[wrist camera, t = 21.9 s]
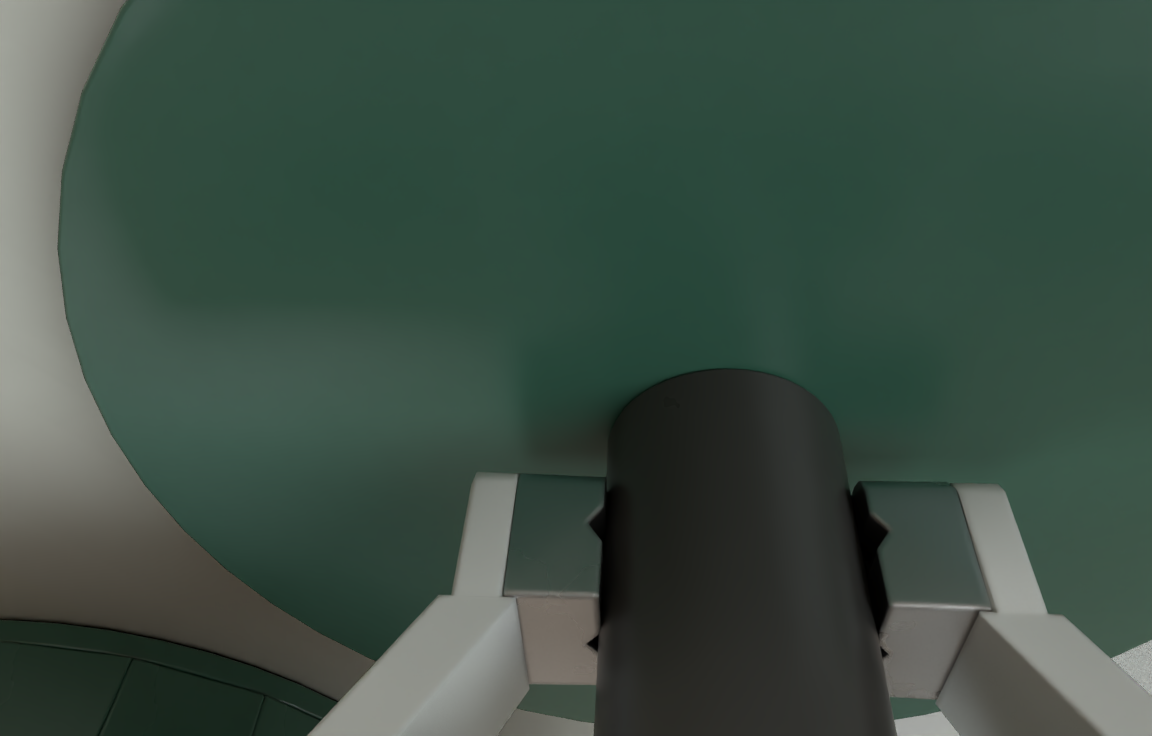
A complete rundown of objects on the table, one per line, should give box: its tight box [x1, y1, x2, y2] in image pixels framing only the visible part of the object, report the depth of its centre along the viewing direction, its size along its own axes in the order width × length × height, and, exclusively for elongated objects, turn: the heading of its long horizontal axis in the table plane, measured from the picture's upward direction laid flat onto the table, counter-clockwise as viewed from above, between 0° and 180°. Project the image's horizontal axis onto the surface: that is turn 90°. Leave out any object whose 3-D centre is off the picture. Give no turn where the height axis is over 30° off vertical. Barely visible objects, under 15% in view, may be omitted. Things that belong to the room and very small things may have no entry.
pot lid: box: [58, 0, 1152, 736], centre depth 10 cm, size 16×16×6 cm
